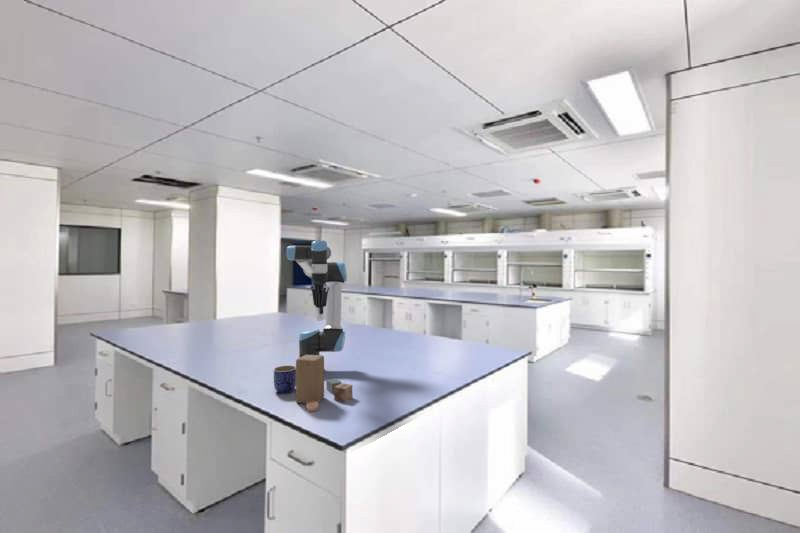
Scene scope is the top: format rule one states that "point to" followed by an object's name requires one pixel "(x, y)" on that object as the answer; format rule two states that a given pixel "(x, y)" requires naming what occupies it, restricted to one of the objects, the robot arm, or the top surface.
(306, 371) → the wooden block
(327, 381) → the gray block
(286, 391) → the planter
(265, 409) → the top surface
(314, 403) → the terracotta puck
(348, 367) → the top surface
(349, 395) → the walnut cube
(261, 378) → the top surface
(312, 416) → the top surface
